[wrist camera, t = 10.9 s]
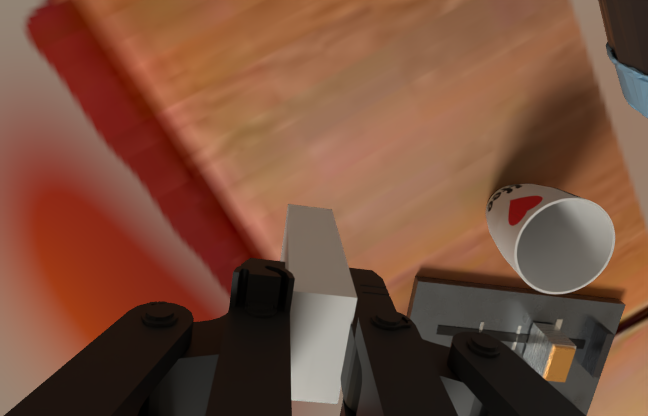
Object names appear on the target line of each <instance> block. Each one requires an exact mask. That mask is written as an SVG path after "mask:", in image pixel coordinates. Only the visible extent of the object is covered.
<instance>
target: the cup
mask: <svg viewBox="0 0 648 416" xmlns="http://www.w3.org/2000/svg"><path fill="white" fill-rule="evenodd" d="M486 219H487V223H488V228H489V232H490V234H491V236H492V238H493V240H494V241H495V243H496V245H497V247H498V248H499V250H500V252H501V254H502V255H503V257H504V258H505V259H506V260H507V261H508V263H509V264H510V265H511V266H512V267H513V268H514V270H515V271H516V272H517V273H518V274H519V275H520V277H521V278H522V279H523V280H524V281H525V282H526V283H527V284H528V285H529V286H530V287H532V288H534V289H535V290H538V291H540V292H543V293H547V294H565V293H570V292H573V291H576V290H578V289H581V288H583V287H584V286H586V285H588V284H589V283H591V282H592V281H593V280H594V279H596V278H597V277H598V276H599V275H600V274H601V272H602V271H603V270H604V269H605V267H606V266H607V264H608V262H609V260H610V258H611V256H612V253H613V250H614V245H615V231H614V227H613V223H612V221H611V219H610V217H609V216H608V214H607V213H606V212H605V211H604V209H602V208H601V207H600V206H599V205H597V204H596V203H594V202H591V201H589V200H586V199H584V198H581V197H578V196H576V195H573V194H570V193H568V192H565V191H563V190H560V189H557V188H552V187H546V186H541V185H535V184H516V185H508V186H505V187H503V188H501V189H499V190H498V191H496V192H495V193H494V194H493V195H492V196H491V198H490V199H489V201H488V204H487V207H486Z"/></svg>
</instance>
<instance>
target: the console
mask: <svg viewBox="0 0 648 416" xmlns="http://www.w3.org/2000/svg"><path fill="white" fill-rule="evenodd" d="M624 308H625V304H624V303H623V302H621V301H620V300H619V299H612V298H603V297H594V296H585V295H577V294H568V293H565V294H547V293H543V292H540V291H538V290H533V289H524V288H515V287H506V286H497V285H488V284H480V283H471V282H462V281H453V280H444V279H436V278H427V277H418V276H415V280H414V284H413V289H412V294H411V298H410V303H409V307H408V312H407V316H406V317H408V318H409V319H411V320H412V321H413V323H414V324H415V325H416V327H417V329H418V331H419V333H420V335H421V337H422V339H424V340H427V341H430V342H433V343H436V344H440V345H444V346H447V347H450V346H451V342H452V338H453V336H454V335H456V334H457V333H460V332H465V331H467V332H481V333H482V334H483V333H485V334H488V335H490V336H491V337H493V338H495V339H497V340H500V341H501V342H502V343H504V344H505V345H507V346H508V347H509V348H510V349H512V350H513V351H514V352H515V353H516V354H517V355H518V356H519V357H521V358H522V359H523V360H524V361H525V362H526V363H527V364H528V362H527V361H526V360H525V359H524V357H523V355H524V352H525V348H526V345H527V342H528V338H529V335H530V332H531V328H532V325H533V323H543V324H552V325H556V326H557V327H558V328H559V329H560V330H561V331H562V332H563V333H564V334H565V335H566V336H567V337H568V338H569V339H570V340H571V341H572V342H573V343H574V344H575V345H576V346H577V347H576V351H575V354H574V357H573V360H572V363H571V366H570V369H569V372H568V375H567V378H566V381H565V382H555V381H548V382H549V383H550V384H551V385H552V386H553V387H554V388H555V389H557V390H558V391H559V392H560V393H561V394H562V395H563V396H564V397H566V398H567V399H568V400H569V401H570V402H571V403H572V404H574V405H575V406H576V407H577V408H578V409H579V410H580V411H581V412H583V413H584V414H585V415H587V413H588V410H589V407H590V404H591V401H592V398H593V396H594V393H595V390H596V387H597V384H598V381H599V379H600V376H601V373H602V370H603V367H604V364H605V361H606V359H607V356H608V353H609V350H610V347H611V344H612V342H613V339H614V336H615V333H616V330H617V327H618V325H619V322H620V319H621V316H622V313H623V310H624ZM528 365H529V364H528Z"/></svg>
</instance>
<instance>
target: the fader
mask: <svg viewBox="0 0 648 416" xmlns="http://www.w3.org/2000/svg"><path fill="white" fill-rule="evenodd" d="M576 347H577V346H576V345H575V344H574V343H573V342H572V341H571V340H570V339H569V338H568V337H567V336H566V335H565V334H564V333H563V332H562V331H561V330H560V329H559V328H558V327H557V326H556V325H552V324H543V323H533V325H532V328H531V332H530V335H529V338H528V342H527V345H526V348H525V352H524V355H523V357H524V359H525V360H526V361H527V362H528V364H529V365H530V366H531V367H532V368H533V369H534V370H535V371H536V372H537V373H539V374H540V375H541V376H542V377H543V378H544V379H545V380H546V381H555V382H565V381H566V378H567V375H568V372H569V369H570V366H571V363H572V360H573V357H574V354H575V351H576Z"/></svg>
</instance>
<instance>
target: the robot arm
mask: <svg viewBox="0 0 648 416" xmlns="http://www.w3.org/2000/svg"><path fill="white" fill-rule="evenodd" d="M598 1H599V5H600V10H601V14H602V18H603V23H604V27H605V31H606V36H607V40H608V42H607V44H606V49H607V54H608V56H609V58H610V60H611V61H612V62H613V63H614V65H615V67H616V71H617V75H618V78H619V81H620V85H621V88H622V92H623V94H624V97H625V99H626V100H627V102H628V104H629V105H630V106H631V107H632V108H634V109H636V110H637V111H639V112H640V113H641V114H642V115H643V116H645V117H646V118H648V0H598ZM193 319H194V318H193V316H192V313H191V312H190V311H189V310H188V309H186V308H185V307H183V306H180V305H177V304H174V303H167V302H150V303H147V304H143V305H139V306H137V307H135V308H133V309H131V310H130V311H128V312H127V313H126V314H125V315H124V316H122V317H121V318H120V319H119V320H117V321H116V322H115V323H114V324H113V325H111V326H110V327H109V328H108V329H107V330H106V331H104V332H103V333H102V334H101V335H100V336H98V337H97V338H96V339H95V340H94V341H93V342H91V343H90V344H89V345H88V346H86V347H85V348H84V349H83V350H82V351H80V352H79V353H78V354H77V355H76V356H75V357H73V358H72V359H71V360H70V361H68V362H67V363H66V364H65V365H64V366H62V367H61V368H60V369H59V370H58V371H57V372H55V373H54V374H53V375H52V376H51V377H49V378H48V379H47V380H46V381H45V382H43V383H42V384H41V385H40V386H39V387H37V388H36V389H35V390H34V391H33V392H31V393H30V394H29V395H28V396H27V397H25V398H24V399H23V400H22V401H21V402H20V403H18V404H17V405H16V406H15V407H14V408H12V409H11V410H10V411H9V412H8V413H6V414H5V415H4V416H292V408H291V400H297V401H309V402H321V403H332V404H338V399H339V393H340V388H341V386H342V392H343V403H342V407H341V413H340V416H586V415H585V414H584V413H583V412H581V411H580V410H579V409H578V408H577V407H576V406H575V405H574V404H572V403H571V402H570V401H569V400H568V399H567V398H566V397H564V396H563V395H562V394H561V393H560V392H559V391H558V390H557V389H555V388H554V387H553V386H552V385H551V384H550V383H549V382H548V381H546V380H545V379H544V378H543V377H542V376H541V375H540V374H539V373H537V372H536V371H535V370H534V369H533V368H532V367H531V366H530V365H528V364H527V363H526V362H525V361H524V360H523V359H522V358H521V357H519V356H518V355H517V354H516V353H515V352H514V351H513V350H512V349H510V348H509V347H508V346H507V345H505V344H504V343H502V342H501V341H500V340H497V339H495V338H493V337H491V336H490V335H488V334H485V333H483V334H482V333H481V332H467V331H465V332H460V333H457V334H456V335H454V336H453V338H452V342H451V346H450V347H447V346H444V345H440V344H436V343H433V342H430V341H427V340H424V339H422V337H421V335H420V333H419V331H418V329H417V327H416V325H415V324H414V323H413V321H412V320H411V319H409V318H408V317H406V316H405V315H403V314H401V313H398V312H396V309H395V307H394V305H393V302H392V300H391V298H390V296H389V293H388V290H387V289H386V286H385V283H384V281H383V279H382V278H381V277H380V276H378V275H377V274H376V273H375V272H374V271H372V270H364V269H355V268H349V267H348V264H347V260H346V257H345V253H344V250H343V246H342V243H341V239H340V236H339V232H338V229H337V226H336V222H335V219H334V215H333V212H332V209H324V208H316V207H308V206H300V205H292V204H288V209H287V216H286V224H285V231H284V238H283V246H282V253H281V260H280V261H273V260H264V259H255V258H250V259H248V260H247V261H245V262H244V263H243V264H241V266H239V267H237V268H236V269H235V270H234V272H233V279H232V288H231V297H230V306H229V311H228V313H227V314H226V315H224V316H222V317H220V318H217V319H213V320H209V321H202V322H193Z"/></svg>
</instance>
